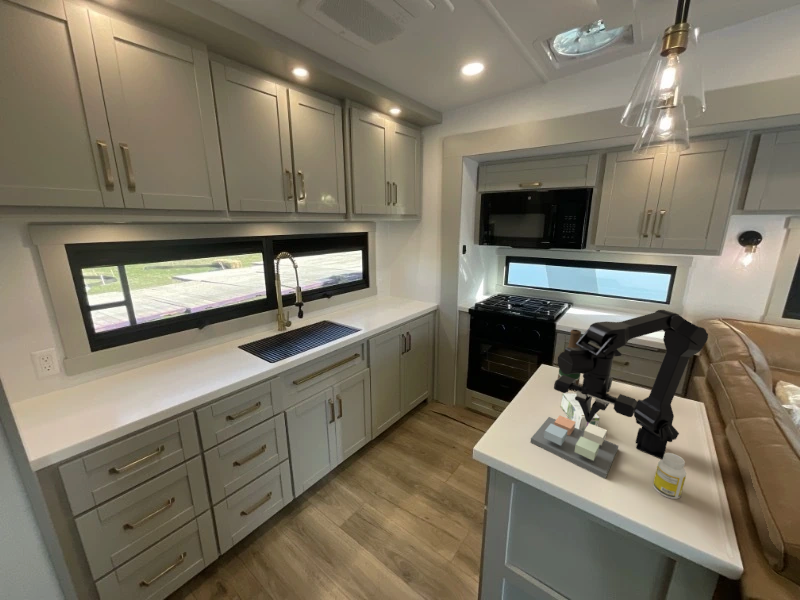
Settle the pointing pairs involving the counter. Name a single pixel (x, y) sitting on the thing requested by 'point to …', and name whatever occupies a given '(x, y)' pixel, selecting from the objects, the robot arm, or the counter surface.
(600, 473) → the keypad base
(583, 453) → the sage green key
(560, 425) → the terracotta key
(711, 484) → the counter surface
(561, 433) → the slate blue key
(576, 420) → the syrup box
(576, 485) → the counter surface
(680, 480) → the supplement bottle
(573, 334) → the beer bottle
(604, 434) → the cream key
